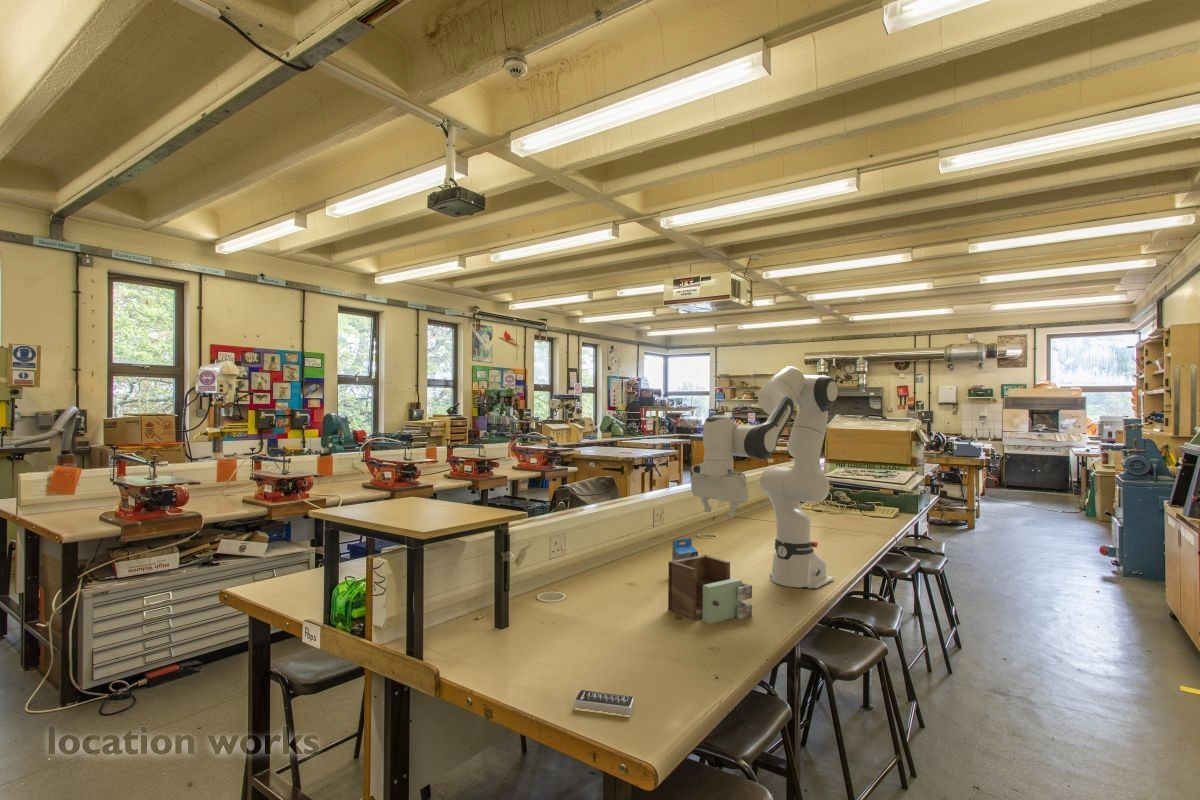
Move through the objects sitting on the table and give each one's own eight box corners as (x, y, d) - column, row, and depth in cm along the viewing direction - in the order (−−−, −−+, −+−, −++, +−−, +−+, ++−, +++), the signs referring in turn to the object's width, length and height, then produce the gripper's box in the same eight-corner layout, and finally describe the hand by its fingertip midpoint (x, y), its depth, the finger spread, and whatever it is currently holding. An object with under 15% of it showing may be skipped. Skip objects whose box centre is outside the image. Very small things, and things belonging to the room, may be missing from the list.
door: (734, 612, 164) (735, 577, 165) (744, 616, 161) (745, 581, 162) (702, 621, 157) (702, 585, 157) (712, 625, 154) (712, 588, 154)
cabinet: (709, 599, 175) (710, 554, 176) (751, 615, 162) (752, 566, 162) (668, 609, 166) (668, 561, 166) (709, 627, 152) (709, 575, 152)
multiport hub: (630, 719, 107) (630, 707, 107) (573, 712, 109) (574, 700, 109) (634, 708, 111) (634, 696, 111) (579, 700, 113) (579, 689, 113)
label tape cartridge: (678, 578, 198) (678, 542, 198) (671, 575, 201) (671, 540, 202) (698, 574, 202) (698, 540, 203) (691, 572, 206) (691, 538, 206)
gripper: (752, 470, 166) (753, 518, 165) (701, 465, 182) (702, 508, 182) (737, 472, 162) (738, 521, 162) (687, 466, 179) (688, 510, 179)
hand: (719, 514), depth 172 cm, fingers open, 8 cm apart
